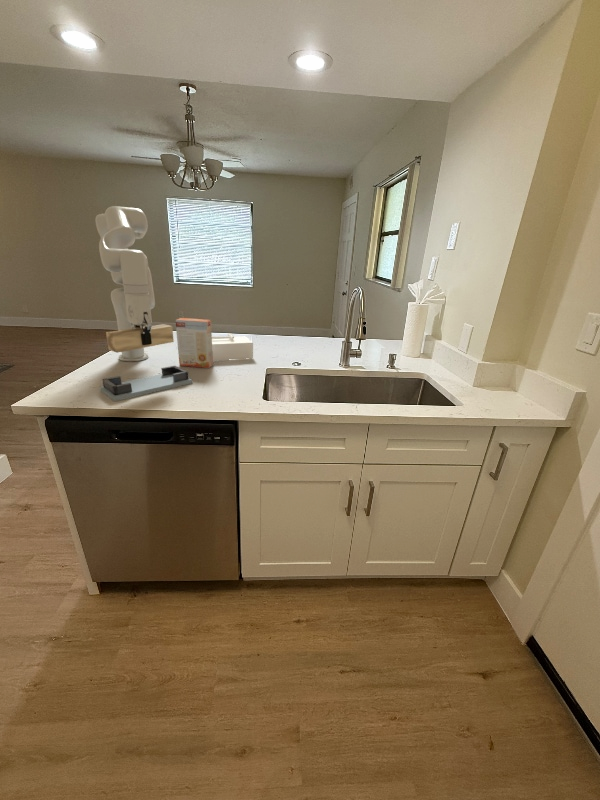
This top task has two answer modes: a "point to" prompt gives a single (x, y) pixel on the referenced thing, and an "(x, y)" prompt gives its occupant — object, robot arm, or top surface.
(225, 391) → the top surface
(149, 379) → the rail base
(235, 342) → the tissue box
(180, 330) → the cracker box
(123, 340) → the slat
